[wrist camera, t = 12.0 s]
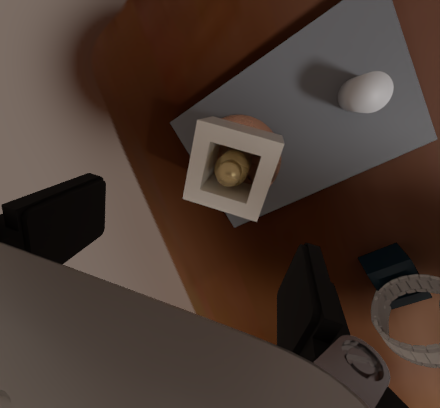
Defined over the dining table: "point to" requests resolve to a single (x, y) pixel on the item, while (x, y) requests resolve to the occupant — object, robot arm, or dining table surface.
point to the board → (327, 100)
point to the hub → (240, 158)
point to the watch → (399, 297)
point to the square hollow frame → (207, 156)
